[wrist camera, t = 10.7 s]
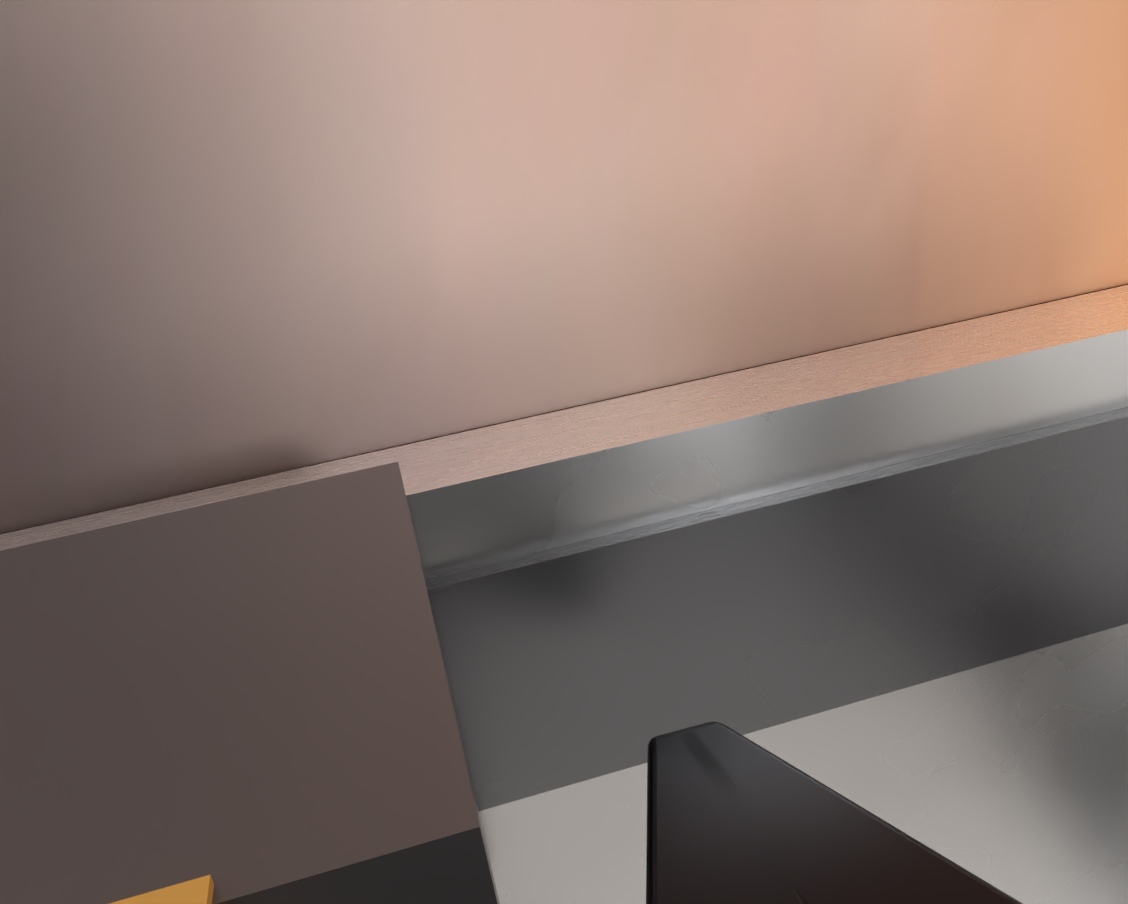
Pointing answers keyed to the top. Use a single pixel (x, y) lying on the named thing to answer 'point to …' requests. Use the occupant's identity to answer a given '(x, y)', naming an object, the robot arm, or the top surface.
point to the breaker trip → (234, 710)
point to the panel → (794, 597)
